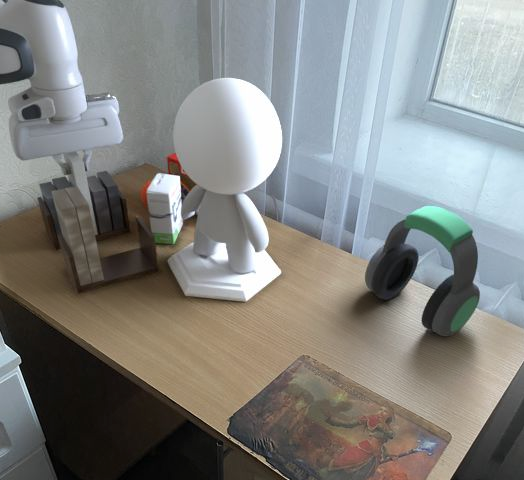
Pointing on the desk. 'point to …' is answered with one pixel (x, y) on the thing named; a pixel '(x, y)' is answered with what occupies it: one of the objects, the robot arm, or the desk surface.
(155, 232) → the ink box
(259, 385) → the desk surface
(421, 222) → the headphones
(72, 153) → the white book
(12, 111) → the robot arm
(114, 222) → the grey book rack
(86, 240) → the brown book rack
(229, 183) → the big headed doll
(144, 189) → the clementine
